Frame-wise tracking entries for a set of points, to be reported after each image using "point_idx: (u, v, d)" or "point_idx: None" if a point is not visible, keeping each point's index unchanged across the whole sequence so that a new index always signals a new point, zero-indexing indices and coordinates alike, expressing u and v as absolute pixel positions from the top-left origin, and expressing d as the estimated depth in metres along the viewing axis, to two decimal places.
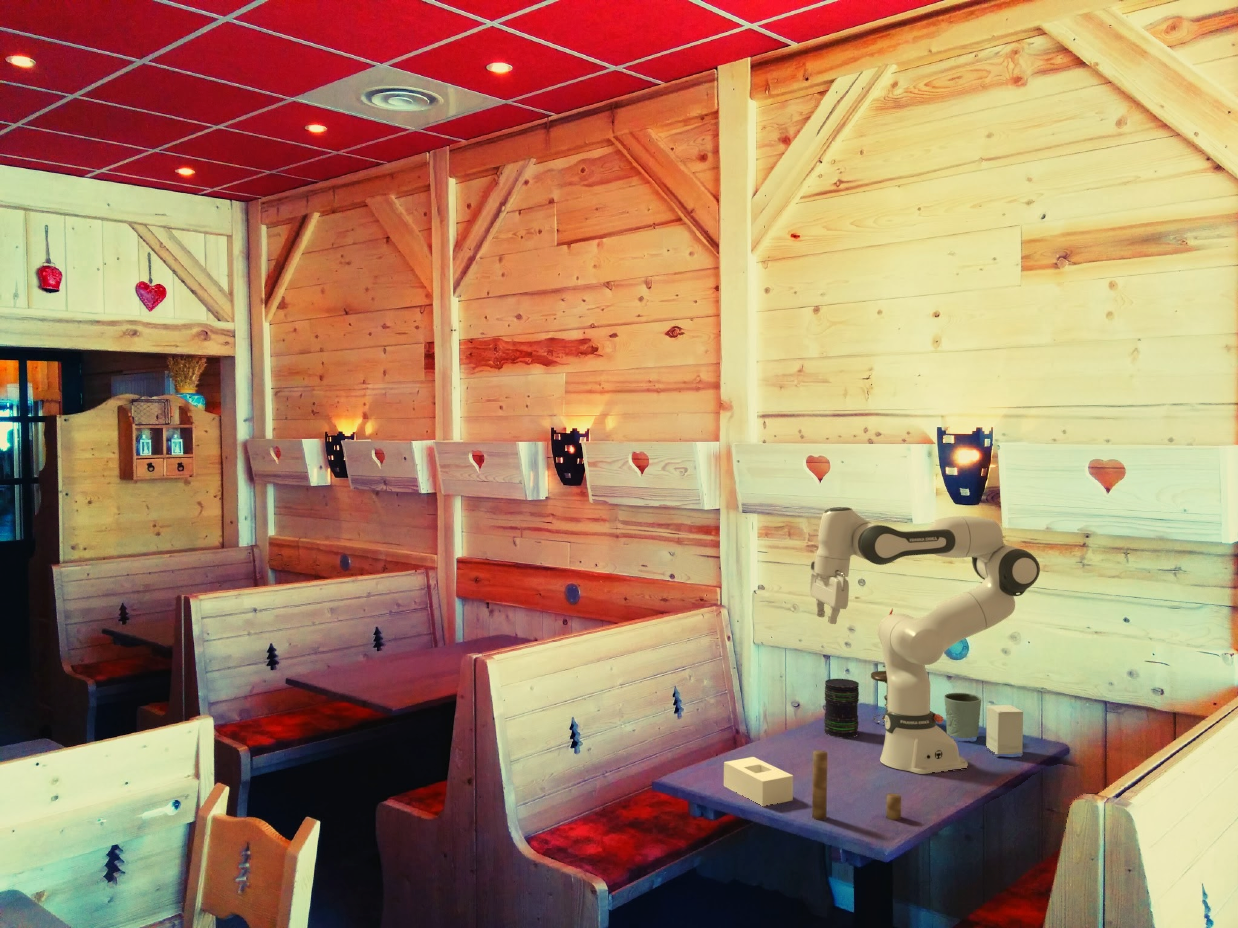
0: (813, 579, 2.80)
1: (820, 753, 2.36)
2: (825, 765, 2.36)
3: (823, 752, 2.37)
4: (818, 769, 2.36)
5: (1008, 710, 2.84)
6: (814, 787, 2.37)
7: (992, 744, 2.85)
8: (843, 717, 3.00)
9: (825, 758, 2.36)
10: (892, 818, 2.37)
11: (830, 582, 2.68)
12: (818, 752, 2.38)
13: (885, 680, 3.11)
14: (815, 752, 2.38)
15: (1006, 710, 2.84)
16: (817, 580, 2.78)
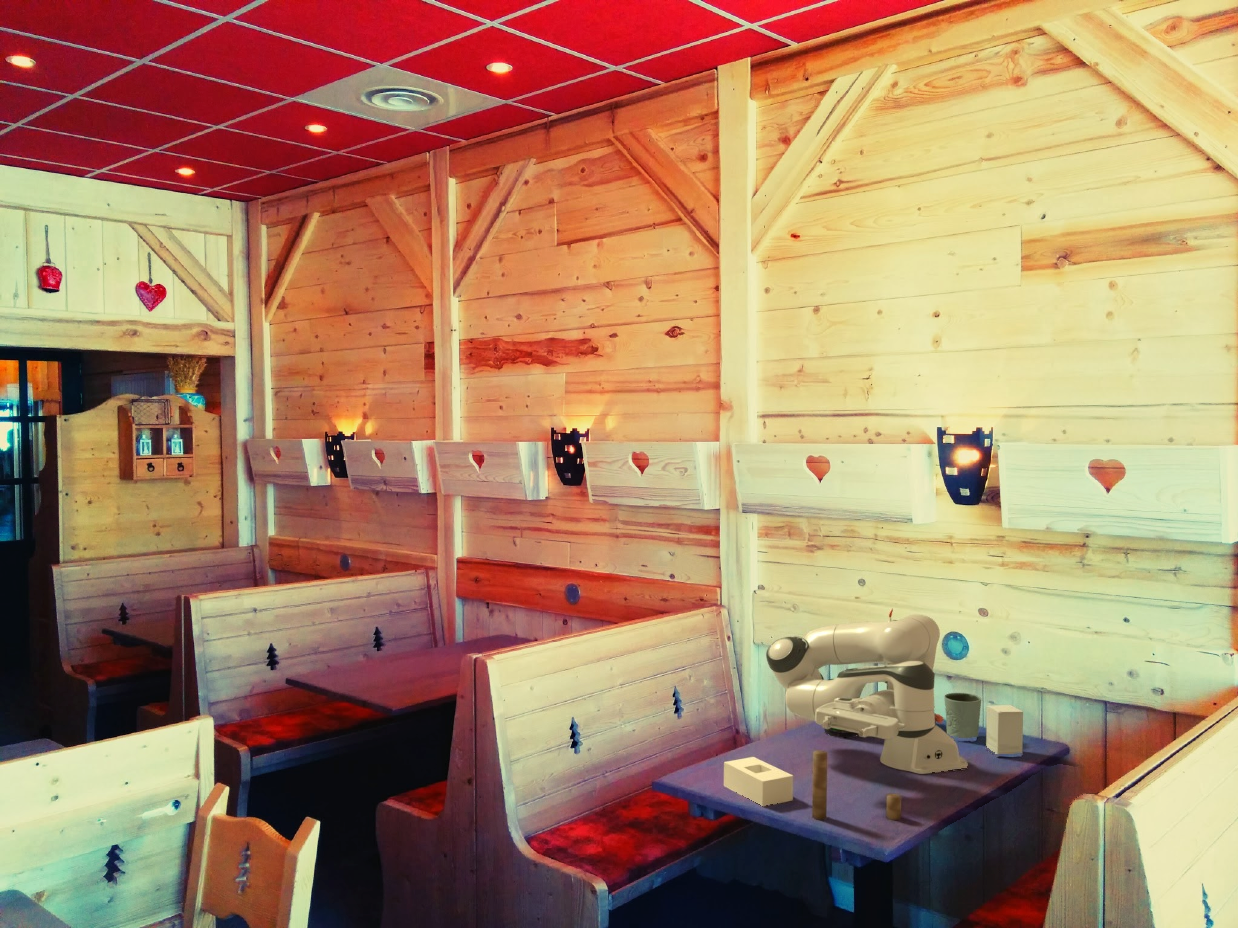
0: (831, 706, 2.58)
1: (820, 753, 2.36)
2: (825, 765, 2.36)
3: (823, 752, 2.37)
4: (818, 769, 2.36)
5: (1008, 710, 2.84)
6: (814, 787, 2.37)
7: (992, 744, 2.85)
8: None
9: (825, 758, 2.36)
10: (892, 818, 2.37)
11: (881, 716, 2.51)
12: (818, 752, 2.38)
13: None
14: (815, 752, 2.38)
15: (1006, 710, 2.84)
16: (838, 709, 2.57)
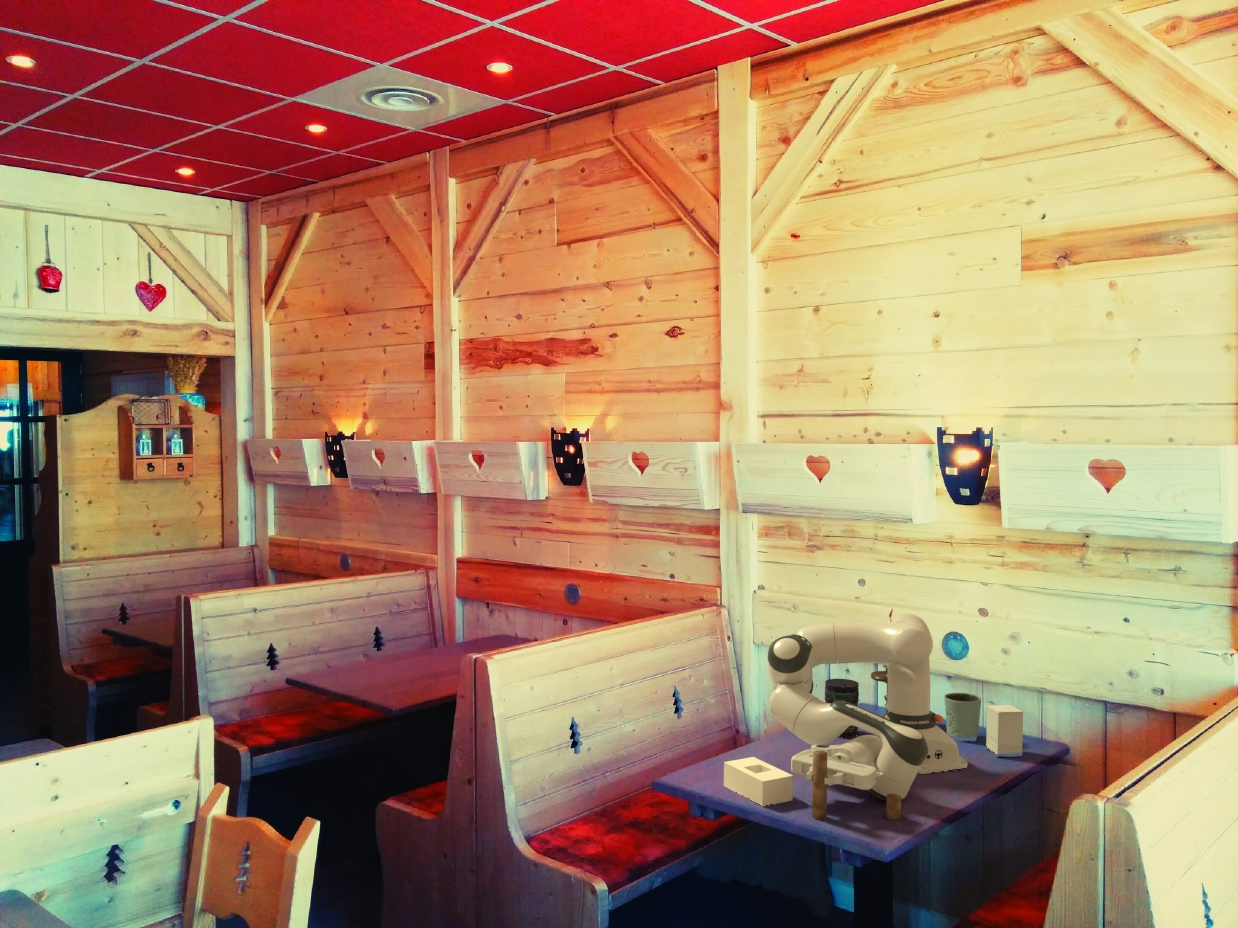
0: (808, 753, 2.49)
1: (820, 753, 2.36)
2: (825, 765, 2.36)
3: (823, 752, 2.37)
4: (818, 769, 2.36)
5: (1008, 710, 2.84)
6: (814, 787, 2.37)
7: (992, 744, 2.85)
8: None
9: (825, 758, 2.36)
10: (892, 818, 2.37)
11: (858, 764, 2.42)
12: (818, 752, 2.38)
13: (885, 680, 3.11)
14: (815, 752, 2.38)
15: (1006, 710, 2.84)
16: None
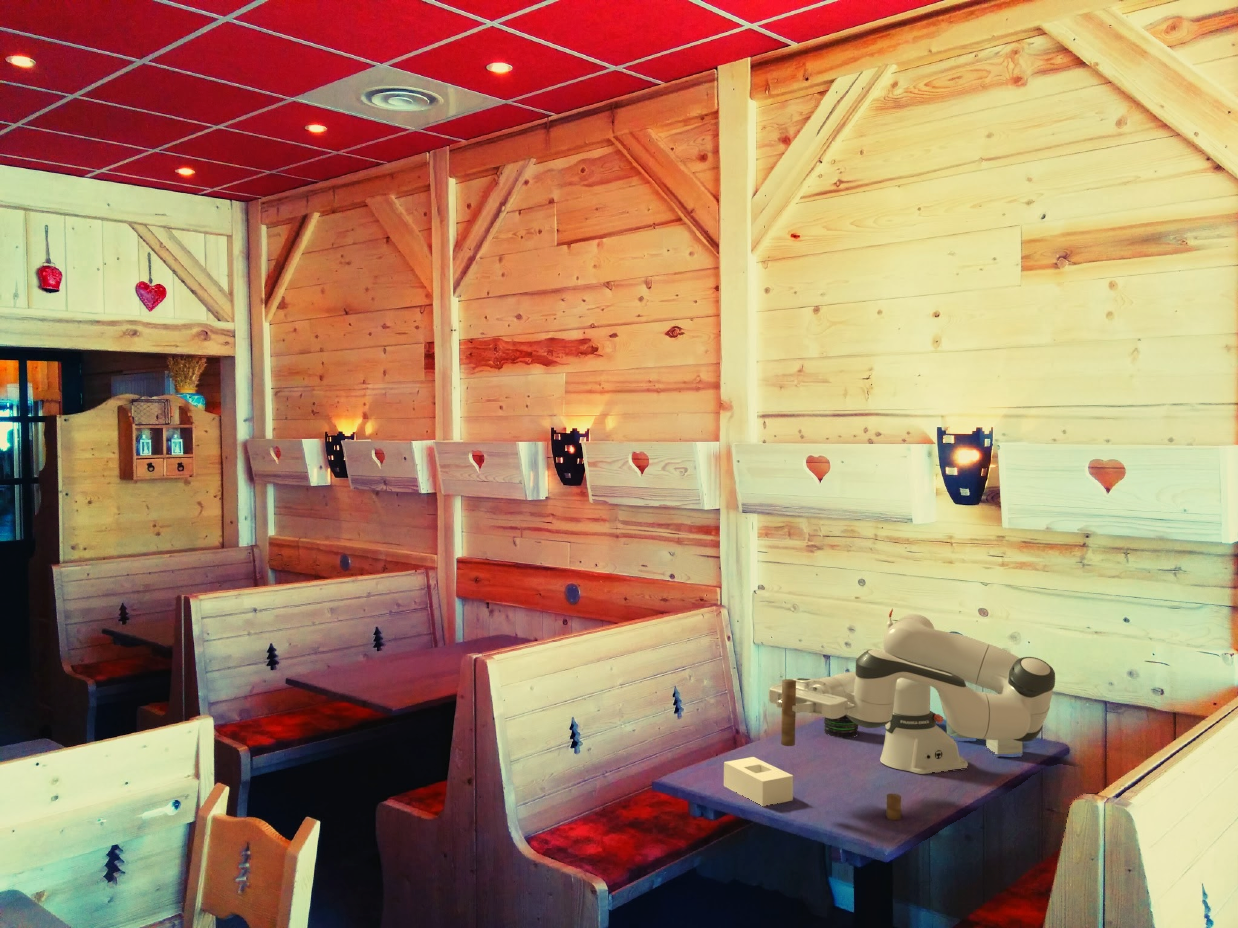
0: None
1: (788, 681, 2.42)
2: (793, 693, 2.42)
3: (791, 680, 2.43)
4: (785, 696, 2.42)
5: None
6: (782, 714, 2.43)
7: (992, 744, 2.85)
8: (843, 717, 3.00)
9: (793, 686, 2.42)
10: (892, 818, 2.37)
11: (831, 695, 2.46)
12: (787, 680, 2.43)
13: None
14: (784, 680, 2.43)
15: None
16: None
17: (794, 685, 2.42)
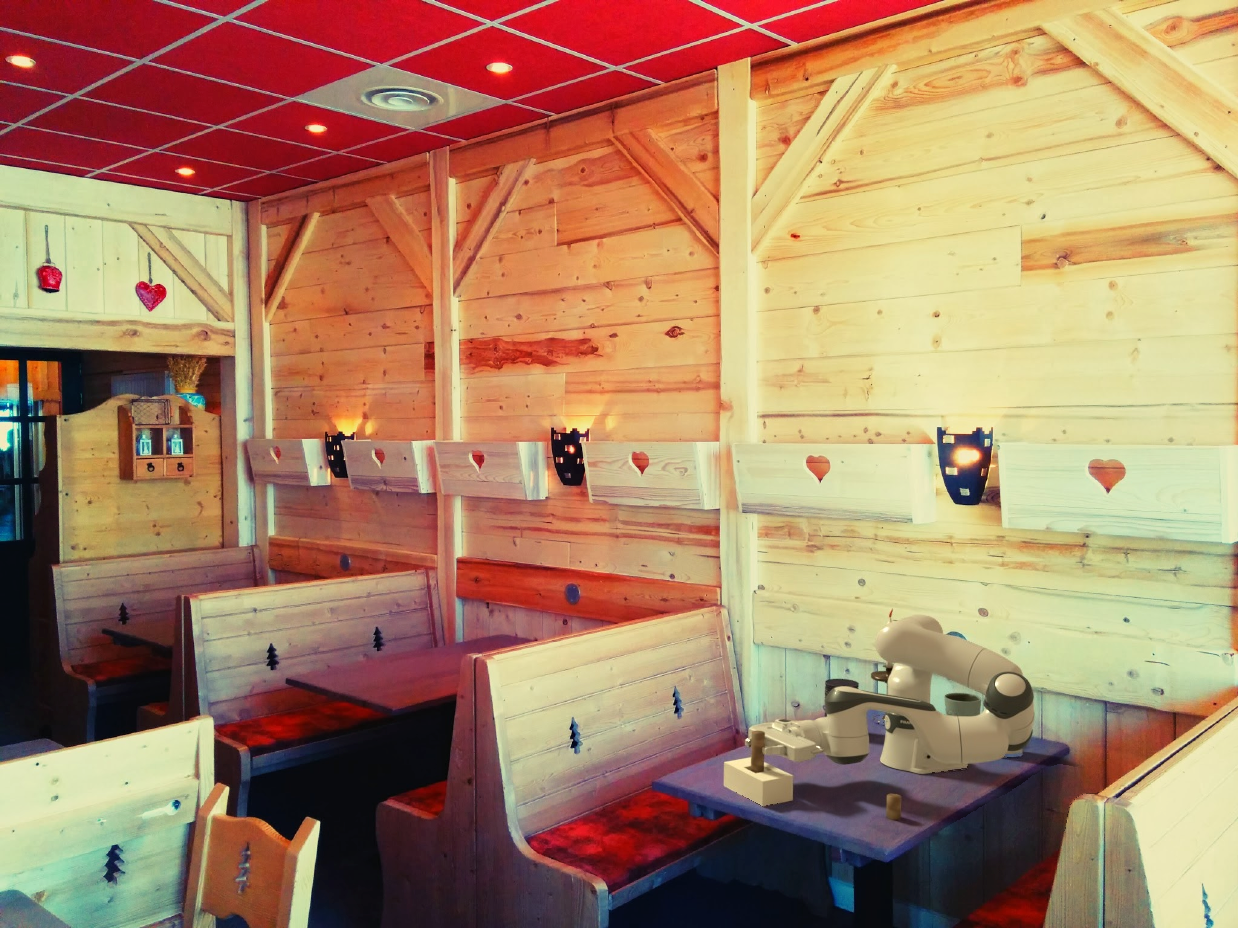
0: (768, 725, 2.64)
1: (756, 733, 2.52)
2: (760, 744, 2.51)
3: (760, 732, 2.53)
4: (753, 747, 2.52)
5: None
6: (751, 764, 2.53)
7: None
8: None
9: (760, 738, 2.51)
10: (892, 818, 2.37)
11: (802, 738, 2.53)
12: (756, 732, 2.53)
13: (885, 680, 3.11)
14: (754, 731, 2.53)
15: None
16: (772, 729, 2.62)
17: (762, 737, 2.52)
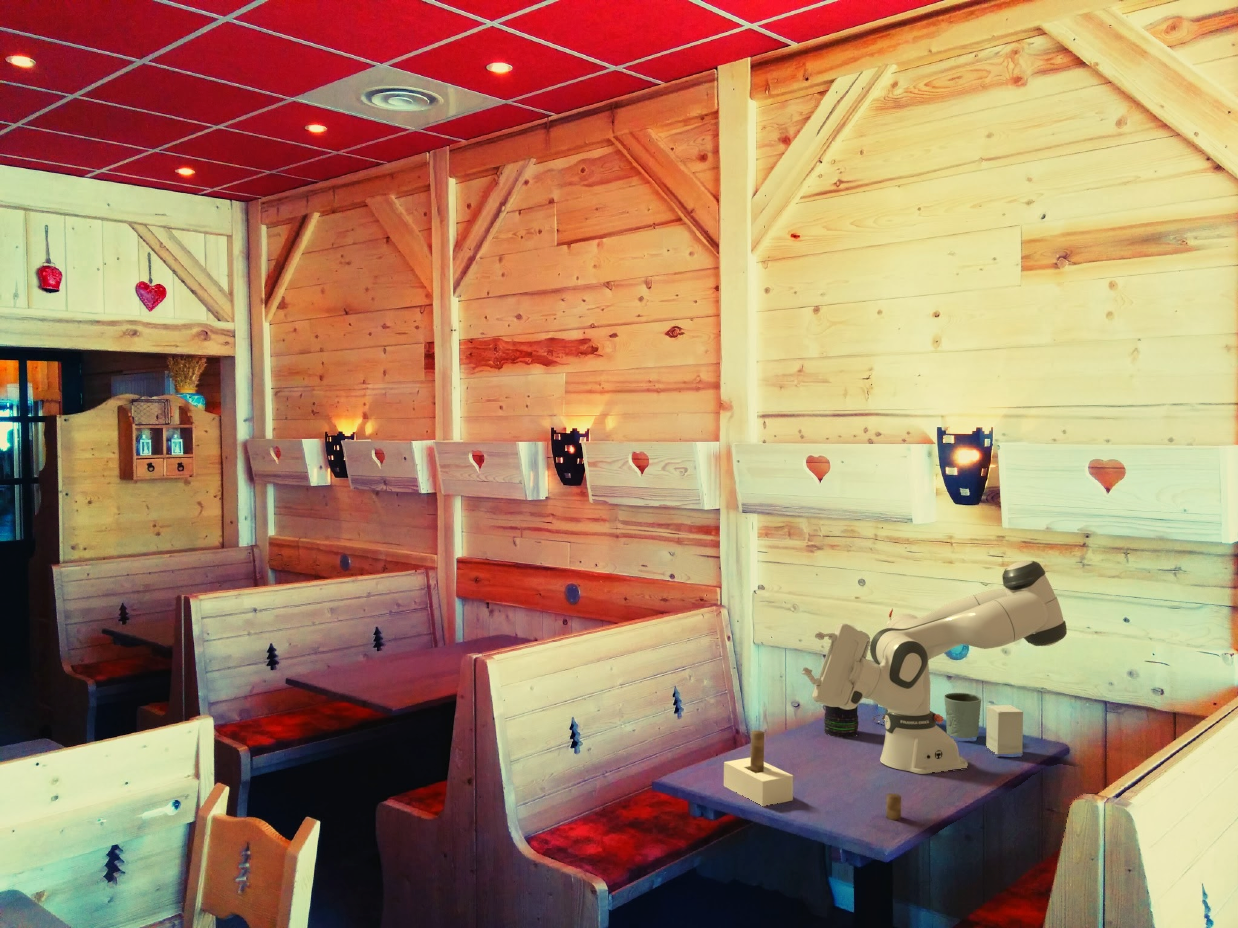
0: None
1: (755, 733, 2.52)
2: (760, 744, 2.52)
3: (760, 732, 2.53)
4: (753, 747, 2.52)
5: (1008, 710, 2.84)
6: (751, 764, 2.53)
7: (992, 744, 2.85)
8: (843, 717, 3.00)
9: (760, 738, 2.51)
10: (892, 818, 2.37)
11: None
12: (755, 731, 2.53)
13: None
14: (753, 731, 2.53)
15: (1006, 710, 2.84)
16: None
17: (761, 737, 2.52)
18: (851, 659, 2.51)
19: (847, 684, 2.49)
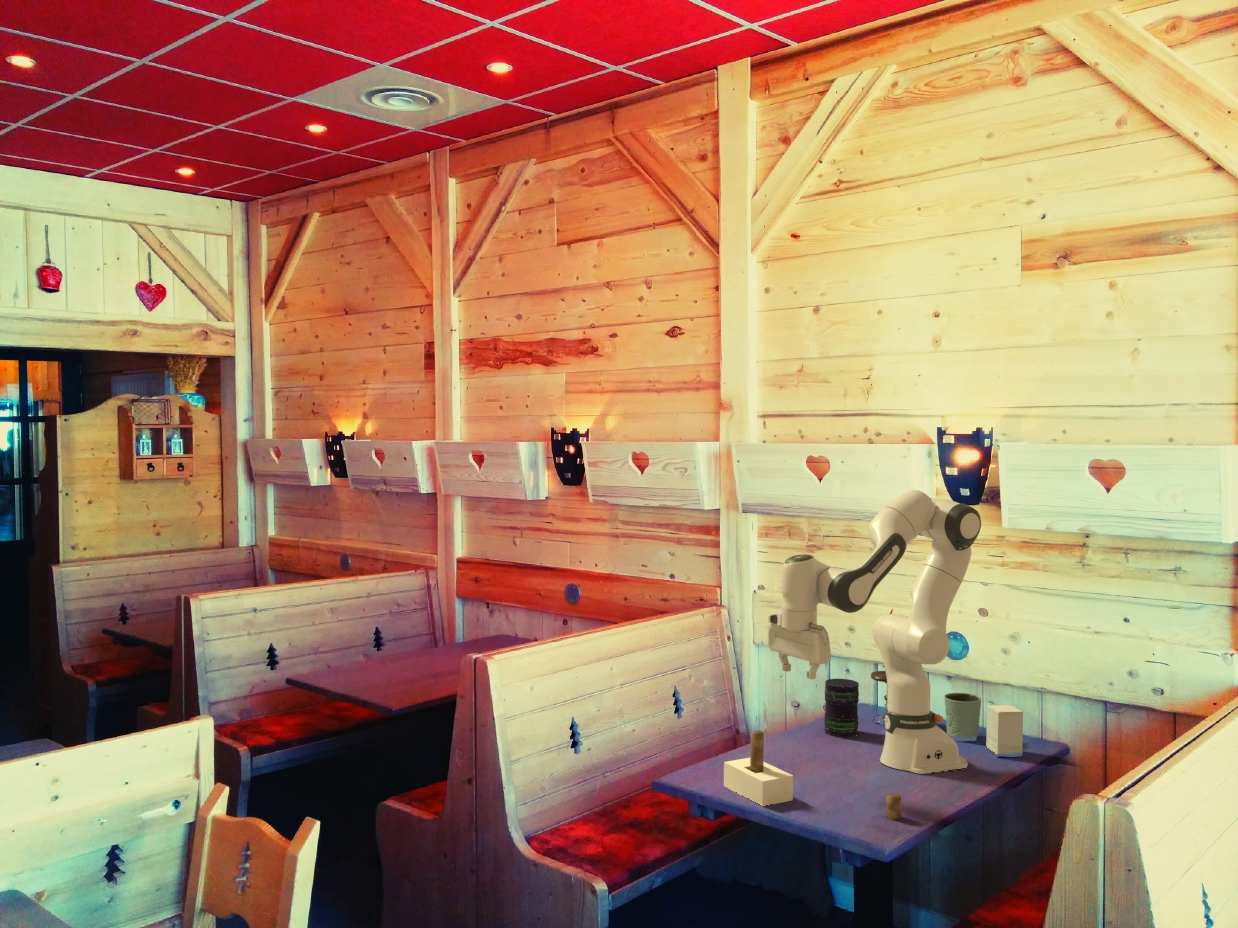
0: (773, 632, 2.65)
1: (755, 733, 2.52)
2: (759, 744, 2.51)
3: (759, 732, 2.53)
4: (752, 747, 2.52)
5: (1008, 710, 2.84)
6: (750, 764, 2.53)
7: (992, 744, 2.85)
8: (843, 717, 3.00)
9: (759, 738, 2.51)
10: (892, 818, 2.37)
11: (806, 636, 2.54)
12: (755, 732, 2.53)
13: (885, 680, 3.11)
14: (752, 731, 2.53)
15: (1006, 710, 2.84)
16: (779, 633, 2.64)
17: (761, 737, 2.52)
18: None
19: None
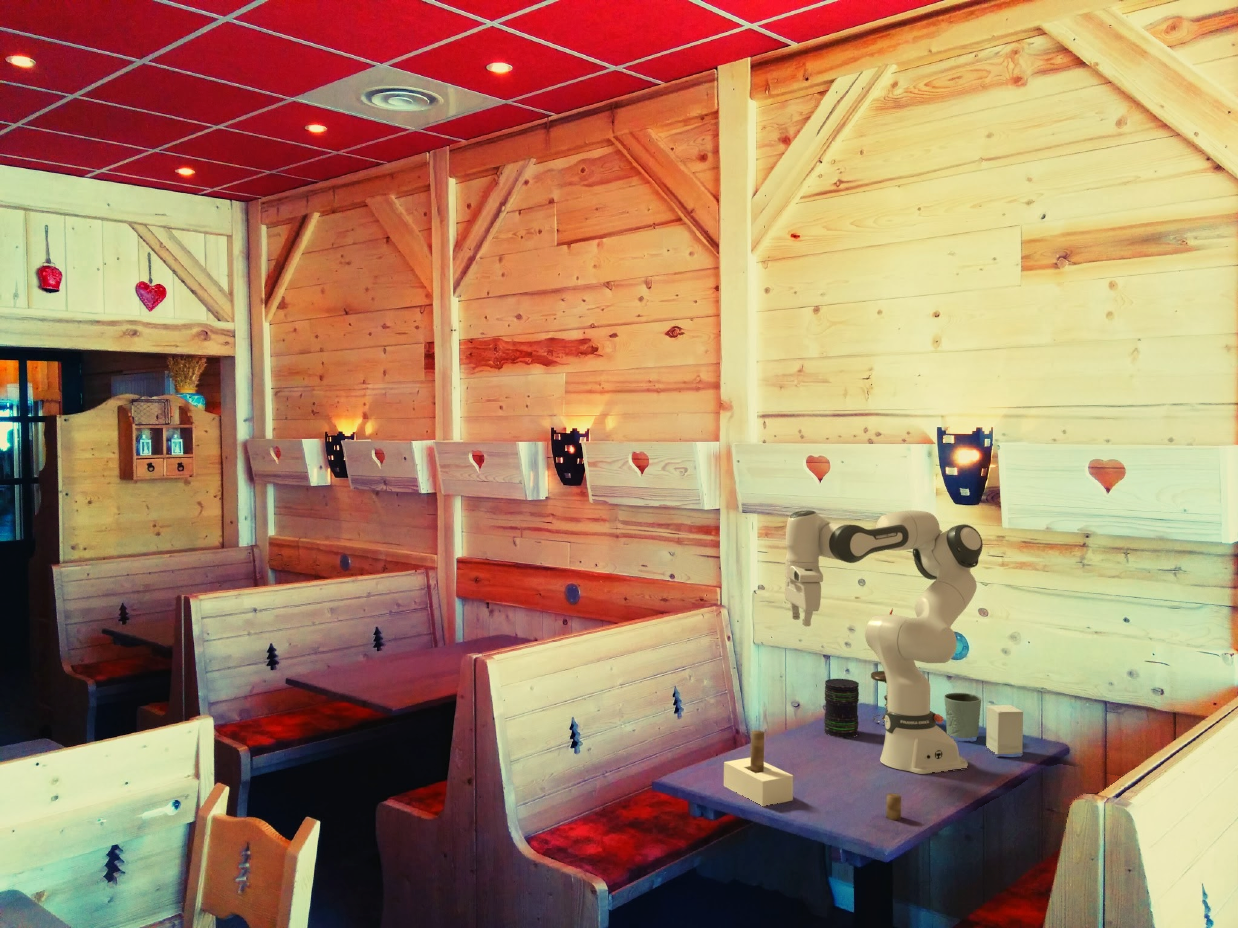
0: None
1: (755, 733, 2.52)
2: (760, 744, 2.52)
3: (760, 732, 2.53)
4: (753, 747, 2.52)
5: (1008, 710, 2.84)
6: (751, 764, 2.53)
7: (992, 744, 2.85)
8: (843, 717, 3.00)
9: (760, 738, 2.51)
10: (892, 818, 2.37)
11: None
12: (755, 731, 2.53)
13: (885, 680, 3.11)
14: (753, 731, 2.53)
15: (1006, 710, 2.84)
16: None
17: (761, 737, 2.52)
18: (793, 584, 2.80)
19: (797, 585, 2.74)
